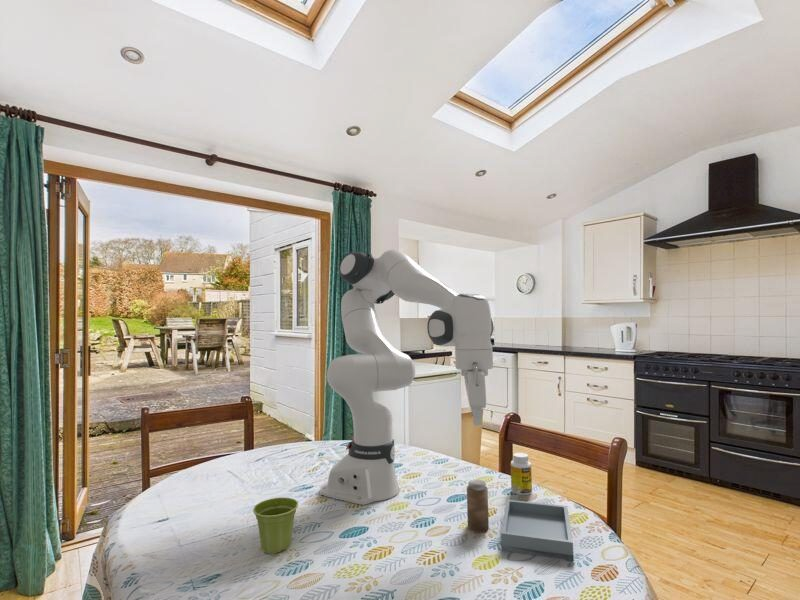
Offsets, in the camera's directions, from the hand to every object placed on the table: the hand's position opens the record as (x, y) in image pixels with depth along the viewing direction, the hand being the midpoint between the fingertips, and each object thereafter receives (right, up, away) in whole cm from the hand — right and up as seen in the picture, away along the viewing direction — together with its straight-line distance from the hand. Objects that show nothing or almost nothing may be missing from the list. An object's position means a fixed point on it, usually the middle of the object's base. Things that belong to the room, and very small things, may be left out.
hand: (476, 419), depth 101 cm
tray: (+13, -24, -5) cm, 28 cm away
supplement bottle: (+16, -25, +18) cm, 35 cm away
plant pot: (-45, -26, -8) cm, 52 cm away
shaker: (0, -25, -1) cm, 25 cm away
